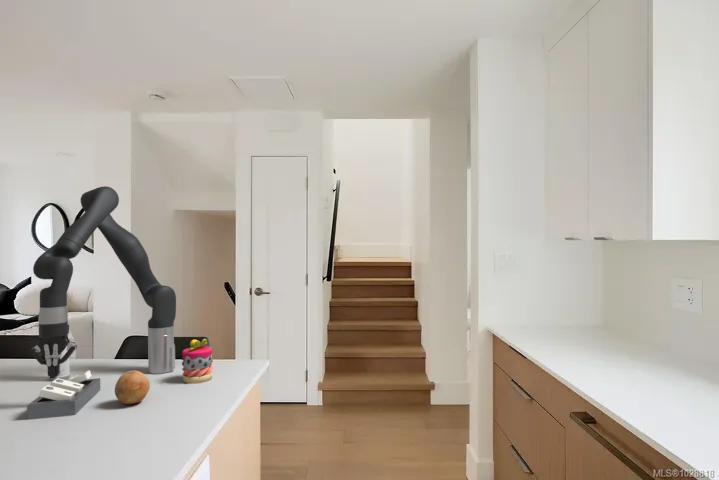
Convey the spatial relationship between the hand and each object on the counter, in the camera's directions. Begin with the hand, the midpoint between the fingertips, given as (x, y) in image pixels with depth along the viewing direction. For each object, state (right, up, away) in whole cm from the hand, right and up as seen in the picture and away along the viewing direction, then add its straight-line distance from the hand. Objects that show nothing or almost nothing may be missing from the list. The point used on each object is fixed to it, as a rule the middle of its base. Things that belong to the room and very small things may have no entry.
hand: (53, 377), depth 142 cm
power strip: (+3, -8, +5) cm, 10 cm away
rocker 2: (+2, -3, +8) cm, 9 cm away
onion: (+25, -8, 0) cm, 26 cm away
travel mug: (-17, -9, +29) cm, 34 cm away
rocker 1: (+5, -3, -6) cm, 9 cm away
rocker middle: (+4, -3, +1) cm, 5 cm away
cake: (+36, -8, +24) cm, 44 cm away
